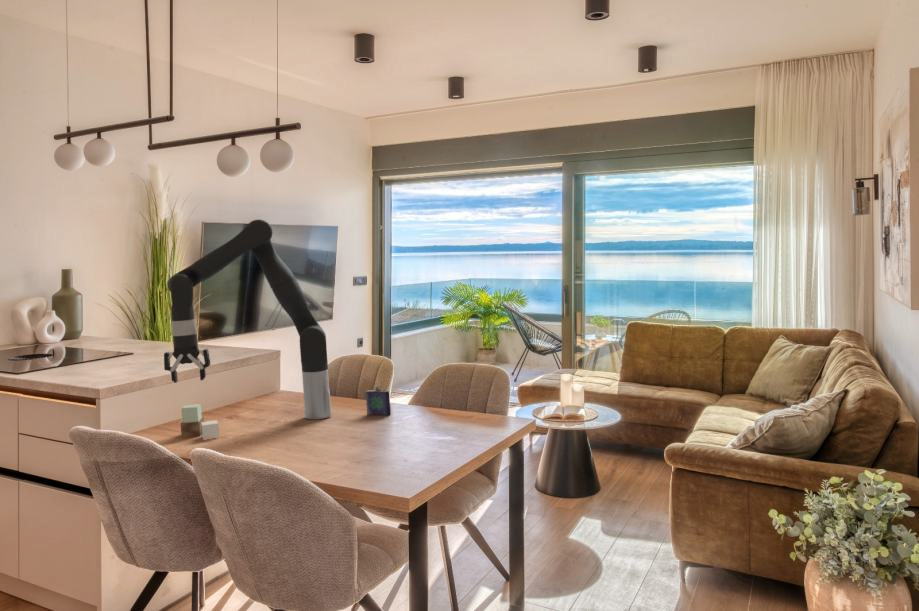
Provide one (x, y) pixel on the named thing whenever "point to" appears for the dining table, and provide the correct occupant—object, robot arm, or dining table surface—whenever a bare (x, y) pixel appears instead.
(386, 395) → the flask
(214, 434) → the cream block
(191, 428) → the walnut block
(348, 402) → the dining table surface
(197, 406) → the sage block
